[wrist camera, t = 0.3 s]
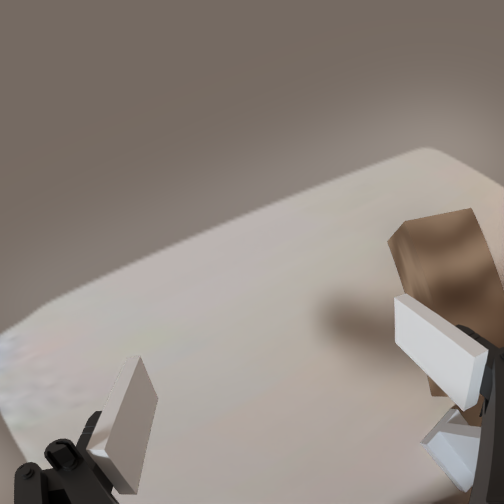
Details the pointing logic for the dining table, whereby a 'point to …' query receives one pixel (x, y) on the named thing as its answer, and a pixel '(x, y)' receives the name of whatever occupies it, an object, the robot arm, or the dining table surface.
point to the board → (455, 448)
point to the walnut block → (451, 273)
